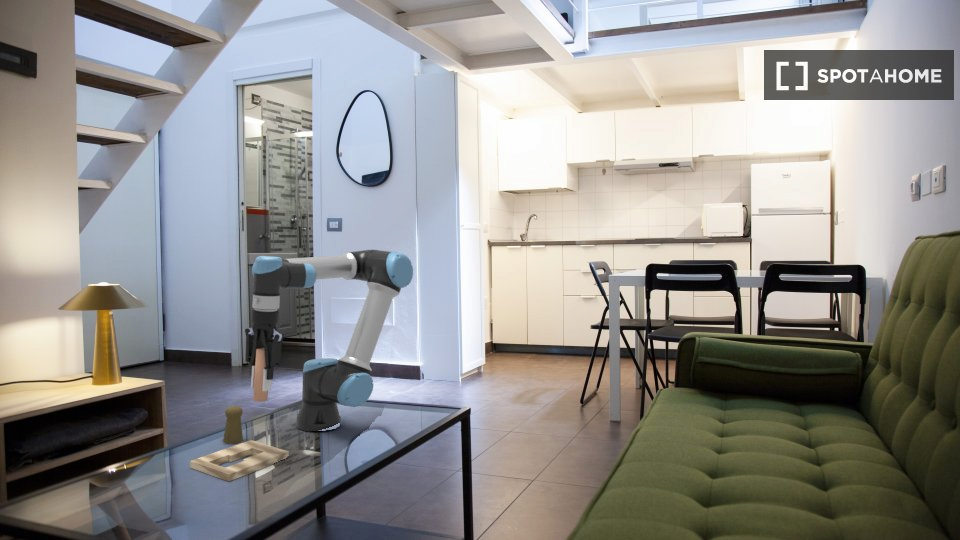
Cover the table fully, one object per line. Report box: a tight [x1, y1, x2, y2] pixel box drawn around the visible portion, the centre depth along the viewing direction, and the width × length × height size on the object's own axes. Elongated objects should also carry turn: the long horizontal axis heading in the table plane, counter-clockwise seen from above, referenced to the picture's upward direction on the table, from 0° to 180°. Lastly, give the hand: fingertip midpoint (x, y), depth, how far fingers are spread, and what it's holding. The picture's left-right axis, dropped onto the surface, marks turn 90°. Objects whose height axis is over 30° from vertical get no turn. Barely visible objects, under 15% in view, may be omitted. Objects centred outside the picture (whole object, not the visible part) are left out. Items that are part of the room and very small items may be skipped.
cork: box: [222, 405, 244, 445], centre depth 216 cm, size 6×6×11 cm
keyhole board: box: [189, 439, 290, 482], centre depth 199 cm, size 22×16×2 cm
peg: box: [252, 347, 269, 403], centre depth 199 cm, size 4×4×15 cm
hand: (260, 388), depth 200 cm, fingers closed on peg, 4 cm apart
